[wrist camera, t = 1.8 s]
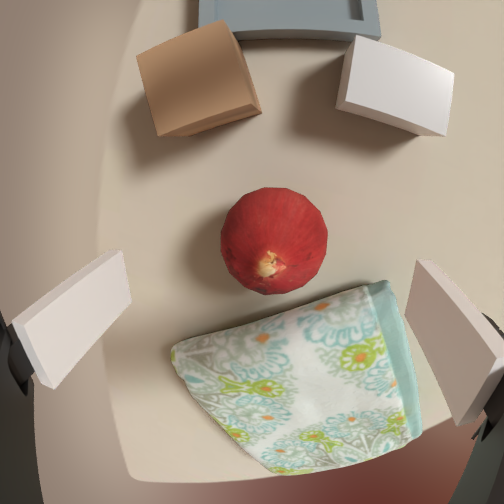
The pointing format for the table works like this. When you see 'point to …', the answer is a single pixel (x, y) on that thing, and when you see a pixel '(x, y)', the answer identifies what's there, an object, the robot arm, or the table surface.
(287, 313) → the towel
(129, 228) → the table surface
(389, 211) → the table surface
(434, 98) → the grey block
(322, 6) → the dish
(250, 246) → the onion
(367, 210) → the table surface
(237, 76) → the walnut cube
